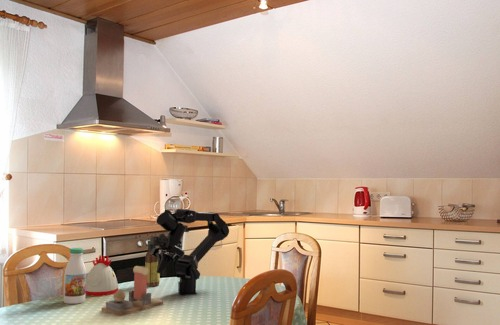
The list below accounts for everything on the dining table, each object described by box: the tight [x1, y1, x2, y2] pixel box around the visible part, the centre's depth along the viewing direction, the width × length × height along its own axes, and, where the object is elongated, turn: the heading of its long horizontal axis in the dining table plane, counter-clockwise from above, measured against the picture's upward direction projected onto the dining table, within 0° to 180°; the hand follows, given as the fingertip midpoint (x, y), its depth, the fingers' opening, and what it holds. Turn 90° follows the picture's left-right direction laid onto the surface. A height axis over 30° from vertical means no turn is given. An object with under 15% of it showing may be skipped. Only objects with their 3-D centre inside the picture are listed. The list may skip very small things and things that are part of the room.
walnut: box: [113, 289, 126, 302], centre depth 164 cm, size 4×4×4 cm
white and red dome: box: [85, 254, 119, 297], centre depth 192 cm, size 14×14×15 cm
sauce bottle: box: [144, 239, 161, 287], centre depth 206 cm, size 7×6×20 cm
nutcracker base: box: [101, 289, 164, 317], centre depth 169 cm, size 20×10×5 cm, turn 145°
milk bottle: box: [62, 247, 87, 305], centre depth 176 cm, size 8×8×20 cm
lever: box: [132, 265, 149, 301], centre depth 172 cm, size 3×5×12 cm, turn 55°
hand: (157, 272), depth 179 cm, fingers closed
